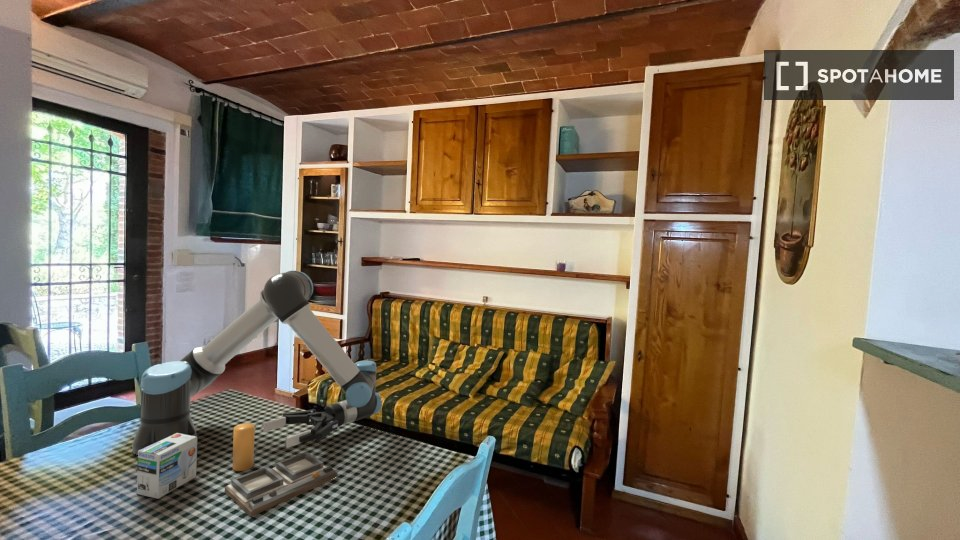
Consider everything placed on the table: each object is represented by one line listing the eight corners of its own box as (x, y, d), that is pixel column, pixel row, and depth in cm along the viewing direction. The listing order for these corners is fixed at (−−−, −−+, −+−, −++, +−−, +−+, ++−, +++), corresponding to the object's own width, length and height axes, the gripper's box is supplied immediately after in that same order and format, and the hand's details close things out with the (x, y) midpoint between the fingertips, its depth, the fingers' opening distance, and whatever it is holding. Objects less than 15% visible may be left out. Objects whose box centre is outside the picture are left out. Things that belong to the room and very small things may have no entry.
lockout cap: (229, 466, 113) (230, 427, 112) (248, 459, 117) (249, 421, 116) (237, 473, 110) (238, 432, 109) (256, 466, 114) (258, 427, 113)
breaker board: (224, 491, 102) (225, 479, 101) (308, 458, 119) (309, 448, 119) (250, 516, 93) (250, 503, 93) (336, 477, 111) (337, 465, 110)
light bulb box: (158, 499, 97) (159, 455, 97) (135, 495, 99) (135, 450, 98) (197, 476, 108) (198, 435, 107) (176, 471, 109) (177, 431, 109)
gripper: (362, 437, 129) (297, 463, 112) (317, 414, 144) (254, 433, 127) (363, 413, 129) (298, 436, 112) (318, 393, 144) (255, 410, 127)
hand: (274, 434), depth 120 cm, fingers open, 13 cm apart
